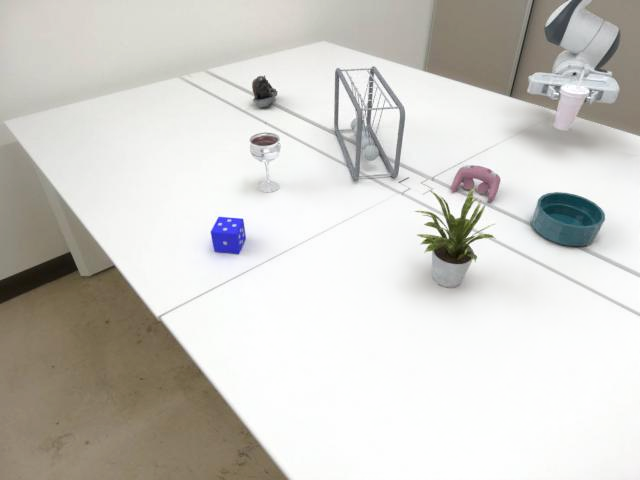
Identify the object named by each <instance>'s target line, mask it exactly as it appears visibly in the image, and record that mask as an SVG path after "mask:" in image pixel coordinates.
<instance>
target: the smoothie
mask: <svg viewBox="0 0 640 480" xmlns="http://www.w3.org/2000/svg"><path fill="white" fill-rule="evenodd" d="M584 74H585V71H583V72H582V74H581V77H580V80H579V83H578V85H573V84H567V85H563V86H561V88H560V97H558V104H557V109H556V113H555V118H554V123H553V124H554V125H553V127H554V128H555V129H557V130H560V131H569V130H570V129H571V127H572V126H573V124H574V122H575V119H576V117H577V116H578V114H579V112H580V110H581V108H582V107H583V104H584V100H585V98H586V97H587V96H588V95H589V92H590V91H589V89H588V88H586V87H583V86H580V85H581V82H582V79H583V76H584Z"/></svg>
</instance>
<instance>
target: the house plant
mask: <svg viewBox="0 0 640 480" xmlns="http://www.w3.org/2000/svg"><path fill="white" fill-rule="evenodd" d="M427 190H429V192H430V193H432V195H433V196H434V197H435V198H436V200H437V201H438V203H439V206H440V208H441V211H442V214H443V217H444V219H445V222H446V224H447V226H446V224H445V223H444V221H443V220H442V219H441V218H440V217H439V216H437V215H436V214H435V213H433V212H431V211H426V210H425V211H424V210H415V211H414V212H415V213H420V214H423V216H426V217H429V218H432V221H428V222H426V223H424V224H423V226H426V227H431V228H433V229H436V230H437V232H438V233H439V235H434V234H427V233H425V234H420V233H419V234H417V237H420V238H424V239H423V240H422V241H421V243H420V244H419V245H427V247H426V249H425V250H424V252H423V254H425V253H427V252H431V270H432V271H431V274H432V275H431V276H432V280H433V281H434V282H435V283H436V284H437V285H439V286H440V287H443V288H448V289H449V288H457V287H458V286H459V285H461V283H462V282H463V280H464V278H465V276H466V273H467V271H468V270H469V268H470V266H471V265H472V262H473V260H474V263H476V262H477V259H478V256H477V255H476V254H475V251H474V249H473V248H472V247H471V246H470V244H472V243H473V242H475V241H477V240H483V239H489V238H492V239H495V240H497V239H496V237H495V236H494V235H492V234H489V233H484V234H479V233H481V232H483V231H485V230H486V229H488V228H489V227H492V226H494V225H495V223H493V224H490V225H488V226H486V227H484V228H482V229H480V230H478V231H476V232H475V233H474V234H472V235H470V234H471V233H472V231H473V229H474V228H475V226H476V224H478V222H479V221H480V219H481V217H482V215H483V213H484V211H485V208H486V204H484V205H483V206H482V208H481V203H482V200H479V202H478V204H477V206H476V207H475V209H474V210H473V213H472V214H471V216H470V218H469V219H468V218H467V216H468V213H469V211H470V210H471V208H472V206H473V204H474V203H475V202H477V200H478V199H479V198H474V192H475V186H474V187H473V188H472V189H470V190H469V192H468V194H467V196H466V198H465V201H464V203H463V205H462V207H461V211H460V217H457V218H456V217H455V216H454V215H453V214H452V213H451V211H450V207H449V203H448V202H447V201H446V200H445V199H444V197H442V196H440V195H438V194H437V193H436V192H434V191H432V190H430V189H429V188H428V189H427ZM480 208H481V209H480ZM440 223H441V224H442V225H443V226H444V227H445V228H444V227H441V225H440ZM447 235H448V237H447ZM469 235H470V236H469ZM468 236H469V237H468Z"/></svg>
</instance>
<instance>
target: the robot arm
mask: <svg viewBox="0 0 640 480" xmlns="http://www.w3.org/2000/svg"><path fill="white" fill-rule="evenodd" d="M592 2H593V0H566V1H564V2H563V3H562V4H561V5H560V6H559V7H557V8H556V9H555V10H554V11H553V12H552V13H551V14H550V15H549V17H548V18H547V21H546V23H545V24H544V27H543V31H544V36H545V38H546V41H547V42H548V43H551V44H553V45H554V46H555V45H556V46H557V47H561V48H562V49H565V50H563V51H561V52H560V53H559V54H558V55H557V57H556V58H555V60H554V62H553V65H552V70H551V72H541V71H540V72H539V71H537V72H534V73H533V74H532V75H531V74H530V75H529V76H528V77H527V82H529V83H528V86H527V90H526V91H527V93H528V94H530V95H537V96H543V97H549V98H550V100H551V101H559V97H560V88H561V86H563V85H567V84H573V85H578V83H579V80H580V77H581V74H582V72H583V71H585V74H584V76H583V79H582V82H581V85H580V86H583V87H586V88H588V89H589V91H590V92H589V95H588V96H587V97H586V98H585V100H584V102H583V104H584V105H590V106H591V105H593V103H601V104H609V105H611V104H614V103H615V102H616V100H617V99H618V95H619V93H620V86H619V83H618V82H617V80H616V79H615V78H614V77H612V76H613V72H612V71H610V70H607V69H603V67H604V66H605V65H606V64H607V63H608V62H609V61H610V60H611V59H612V57H613V56H614V55H615V53H616V52H617V50H618V49H619V46H620V43H621V35H622V34H621V29H620V27H619V26H617V25H615V24H613V23H612V22H610V21H608V20H607V19H604V18H602V17H600V16H598V15H596V14H594V13H593V12H591V11H589V10H588V9H586V7H587V6H588V5H589V4H591V3H592Z"/></svg>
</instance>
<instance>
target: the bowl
mask: <svg viewBox="0 0 640 480" xmlns="http://www.w3.org/2000/svg"><path fill="white" fill-rule="evenodd" d="M605 221H606V214H605V212H604V210H603V209H602V207H600V205H598V204H597V203H595V202H594V201H592V200H590V199H589V198H586V197H584V196H581V195H578V194H574V193H569V192H563V191H562V192H561V191H560V192H559V191H556V192H555V191H554V192H547V193H545V194H543V195H541V196H540V197H539V198H538V199H537V202H536V204H535V207H534V210H533V213H532V216H531V219H530V222H531V226H532V227H533V229H534V230H535V231H536V232H537V233H538V234H539V235H540V236H542V237H544V238H545V239H546V240H549V241H552V242H553V243H557V244H560V245H564V246H570V247H571V246H573V247H580V246H587V245H590V244H591V243H594V241H595V240H596V239H597V237H598V236H599V233H600V231H601V228H602V226H603V225H604V223H605Z"/></svg>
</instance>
